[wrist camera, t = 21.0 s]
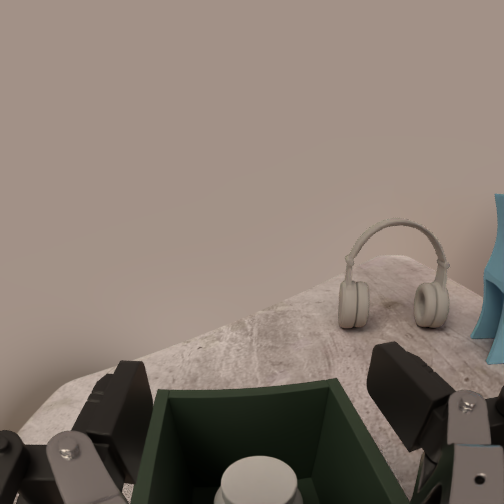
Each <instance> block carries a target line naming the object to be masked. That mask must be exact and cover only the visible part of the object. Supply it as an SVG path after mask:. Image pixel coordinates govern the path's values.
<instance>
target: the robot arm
mask: <svg viewBox="0 0 504 504" xmlns="http://www.w3.org/2000/svg"><path fill="white" fill-rule="evenodd" d="M367 390H368V393H369V395H370V396H371V398H372V399H373V401H374V402H375V404H376V405H377V406H378V408H379V409H380V411H381V412H382V414H383V415H384V416H385V418H386V419H387V421H388V422H389V424H390V425H391V427H392V428H393V429H394V431H395V432H396V434H397V435H398V437H399V438H400V440H401V441H402V443H403V444H404V446H405V447H406V448H407V450H408V451H409V452H412V451H414V450H417V449H419V448H422V449H423V450H424V452H423V454H422V456H421V459H420V465H419V470H418V475H417V479H416V484H415V488H414V492H413V496H412V499H411V501H410V503H409V504H504V386H503V387H502V389H501V391H500V394H499V396H498V397H494V398H489V399H484V398H483V397H482V396H481V395H480V394H478V393H476V392H474V391H470V390H460V391H455V390H454V389H453V388H452V387H451V386H450V385H449V384H448V383H447V382H446V381H444V380H443V379H442V378H441V377H440V376H439V375H438V374H437V373H436V372H433V369H432V368H430V367H429V366H427V364H426V363H425V362H424V361H423V360H422V359H421V358H420V357H418V356H416V355H414V354H412V353H410V352H406V351H405V350H404V349H403V348H402V347H401V346H400V345H399V344H398V343H397V342H389V343H383V344H378V345H375V347H374V348H373V352H372V357H371V362H370V367H369V372H368V376H367ZM87 400H88V401H87V402H86V403H85V405H84V407H83V409H82V410H81V412H80V414H79V416H78V418H77V420H76V422H75V424H74V426H73V428H72V430H71V431H64V432H61V433H58V434H57V435H55V436H54V437H52V438H51V439H50V441H49V442H48V444H47V445H24V443H23V441H22V440H21V438H20V437H19V436H18V435H17V434H16V433H15V432H12V431H7V430H3V431H0V504H13V502H14V499H15V497H16V494H17V492H18V494H19V496H18V499H17V502H16V504H129V503H128V501H127V500H126V498H125V496H124V495H123V493H122V489H123V485H124V483H128V484H135V485H136V482H137V477H138V472H139V468H140V463H141V459H142V454H143V450H144V446H145V441H146V437H147V433H148V429H149V425H150V421H151V417H152V412H153V399H152V394H151V390H150V386H149V382H148V378H147V374H146V369H145V366H144V363H143V362H142V361H123V360H122V361H120V363H119V364H118V366H117V368H116V370H115V372H114V374H106V375H105V376H104V377H102V378H101V379H100V380H99V381H97V383H96V385H95V386H94V388H93V390H92V394H90V396H89V397H88V399H87Z"/></svg>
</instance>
